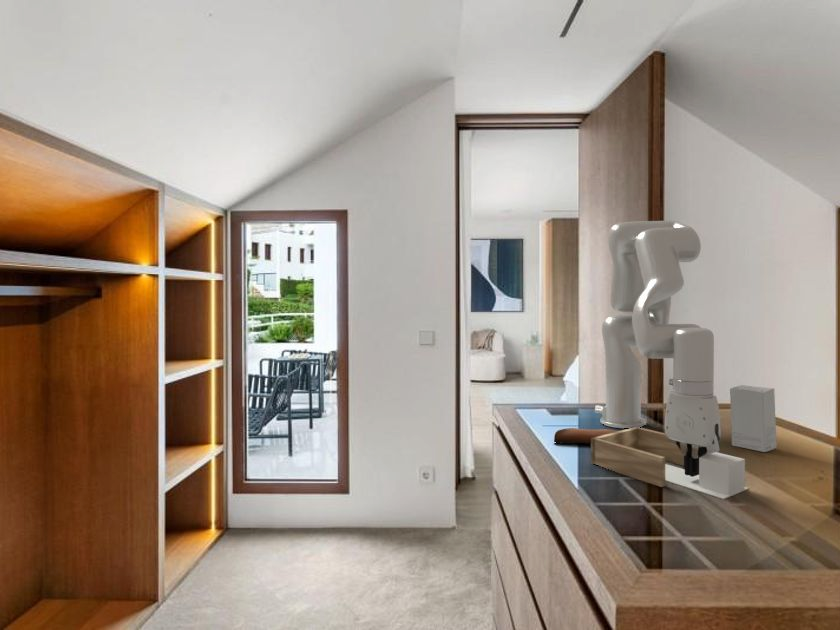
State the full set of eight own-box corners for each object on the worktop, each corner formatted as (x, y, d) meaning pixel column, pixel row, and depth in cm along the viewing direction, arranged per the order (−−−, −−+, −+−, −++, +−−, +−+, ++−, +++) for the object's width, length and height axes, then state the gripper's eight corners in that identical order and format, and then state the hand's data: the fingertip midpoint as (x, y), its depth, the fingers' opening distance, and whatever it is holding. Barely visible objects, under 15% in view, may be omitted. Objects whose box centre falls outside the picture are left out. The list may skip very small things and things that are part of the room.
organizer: (661, 487, 117) (661, 458, 116) (591, 463, 132) (590, 438, 132) (707, 470, 126) (707, 443, 125) (636, 450, 141) (636, 426, 141)
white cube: (744, 488, 114) (745, 459, 114) (728, 495, 111) (729, 465, 111) (715, 480, 119) (715, 451, 119) (698, 486, 116) (699, 457, 116)
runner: (611, 464, 132) (612, 463, 132) (637, 456, 136) (637, 455, 136) (723, 499, 110) (723, 498, 110) (748, 488, 115) (748, 487, 115)
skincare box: (776, 448, 139) (777, 388, 138) (764, 453, 136) (765, 391, 135) (741, 441, 146) (742, 383, 145) (728, 445, 143) (729, 386, 142)
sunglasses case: (624, 438, 151) (625, 420, 147) (626, 459, 146) (628, 440, 142) (554, 435, 156) (554, 417, 152) (554, 455, 150) (553, 437, 147)
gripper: (650, 384, 123) (650, 468, 124) (718, 396, 110) (717, 489, 111) (671, 380, 127) (671, 461, 128) (739, 390, 114) (738, 481, 115)
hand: (692, 474), depth 120 cm, fingers closed
